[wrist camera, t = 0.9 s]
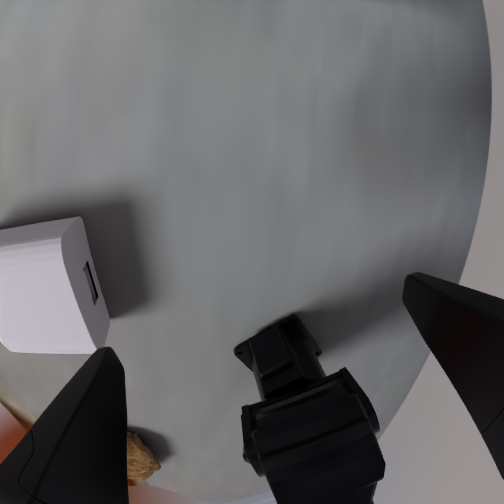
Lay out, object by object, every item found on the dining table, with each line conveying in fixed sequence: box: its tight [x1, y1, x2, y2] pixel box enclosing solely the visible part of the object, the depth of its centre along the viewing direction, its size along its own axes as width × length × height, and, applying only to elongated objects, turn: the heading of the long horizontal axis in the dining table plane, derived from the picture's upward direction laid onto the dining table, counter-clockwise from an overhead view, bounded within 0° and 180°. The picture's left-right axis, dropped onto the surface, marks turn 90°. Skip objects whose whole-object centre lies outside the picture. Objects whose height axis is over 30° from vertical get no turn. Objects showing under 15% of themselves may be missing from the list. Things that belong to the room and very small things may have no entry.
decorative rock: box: [127, 431, 161, 480], centre depth 30 cm, size 11×4×15 cm
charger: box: [0, 216, 110, 354], centre depth 17 cm, size 5×9×15 cm
